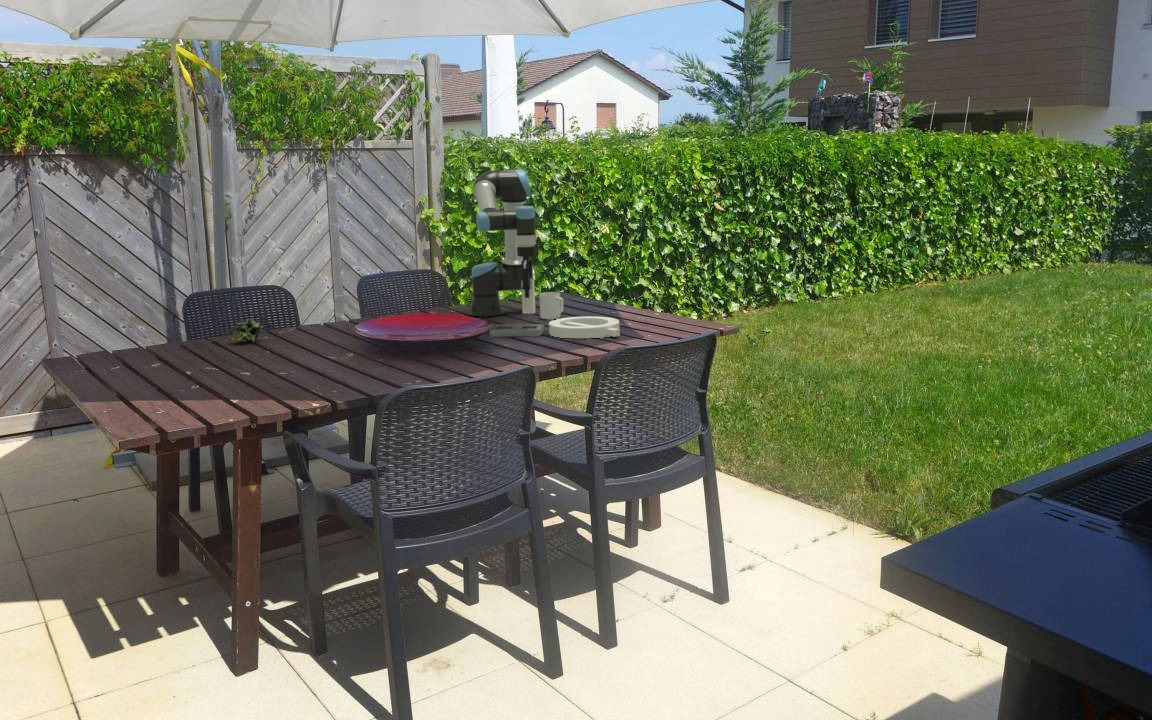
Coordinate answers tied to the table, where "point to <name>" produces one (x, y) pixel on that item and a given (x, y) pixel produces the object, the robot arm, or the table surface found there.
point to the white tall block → (531, 308)
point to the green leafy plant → (248, 330)
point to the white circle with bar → (584, 327)
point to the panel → (516, 330)
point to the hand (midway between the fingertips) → (528, 304)
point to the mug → (550, 305)
